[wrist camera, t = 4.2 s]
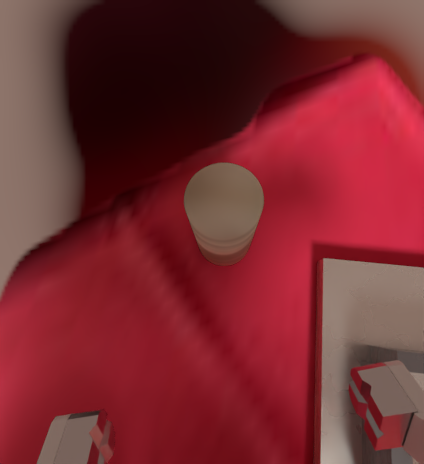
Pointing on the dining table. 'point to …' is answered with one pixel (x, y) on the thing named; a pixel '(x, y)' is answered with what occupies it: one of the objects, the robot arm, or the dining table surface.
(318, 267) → the grey block with recess
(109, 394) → the dining table surface
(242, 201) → the disc
